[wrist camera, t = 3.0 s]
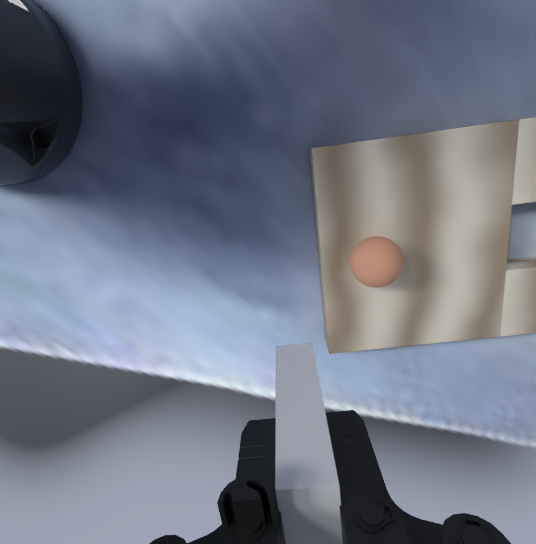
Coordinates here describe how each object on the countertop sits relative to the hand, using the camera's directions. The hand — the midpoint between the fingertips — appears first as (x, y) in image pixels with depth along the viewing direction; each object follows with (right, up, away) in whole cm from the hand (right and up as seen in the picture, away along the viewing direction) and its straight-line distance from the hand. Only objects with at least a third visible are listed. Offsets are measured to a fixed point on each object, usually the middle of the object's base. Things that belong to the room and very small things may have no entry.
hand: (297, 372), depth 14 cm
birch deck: (+15, +7, +16) cm, 23 cm away
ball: (+7, +6, +14) cm, 17 cm away
